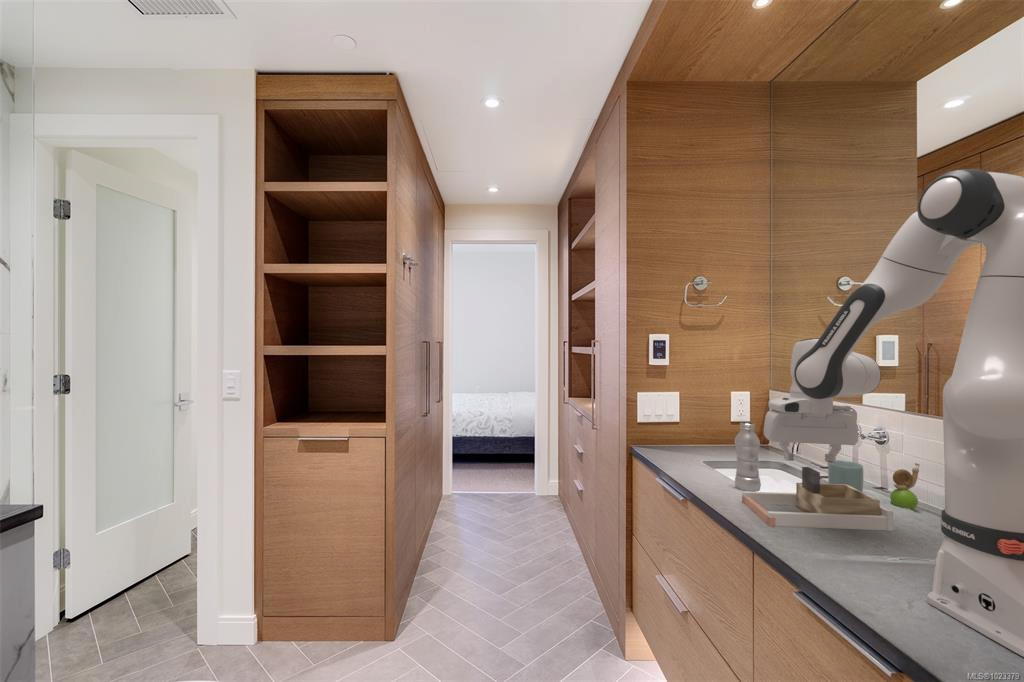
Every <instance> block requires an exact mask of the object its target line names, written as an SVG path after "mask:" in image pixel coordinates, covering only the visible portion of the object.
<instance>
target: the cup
mask: <svg viewBox="0 0 1024 682" xmlns="http://www.w3.org/2000/svg"><path fill="white" fill-rule="evenodd" d="M827 477H828V484H847V485H849V486H851V487H853V488H855V489H857V490H859V491H861V492H863V493H864V466H863V465H862V464H861V463H858V462H854V461H848V460H838V459H837V460H835V463H828V462H827Z"/></svg>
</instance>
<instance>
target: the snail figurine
mask: <svg viewBox="0 0 1024 682" xmlns="http://www.w3.org/2000/svg"><path fill="white" fill-rule="evenodd" d="M914 465H915V466H916V467H913V468H912V470H911V472H912V473H911V472H910V471H908V470H907V469H902V468H901V469H897V470H895V471H894V473H893V475H892V480H893V483H894V484H893V486H894V488H896V489H893V491H891V493H890V495H889V496H890V497H889V498H890V502H891V504H892V505H894V506H896V507H899V508H904V509H908V510H911V511H913V510H915V509H916V508H917V506H918V504H919V499H918V496H917V495H916V494H915V493H914V492H913V491H911V490H910V489H912V488H914V487H915V485H916V484H917V481H918V476H919V472H920V469H919V468H920V465H921V464H920V463H917V462H915V463H914Z"/></svg>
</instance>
